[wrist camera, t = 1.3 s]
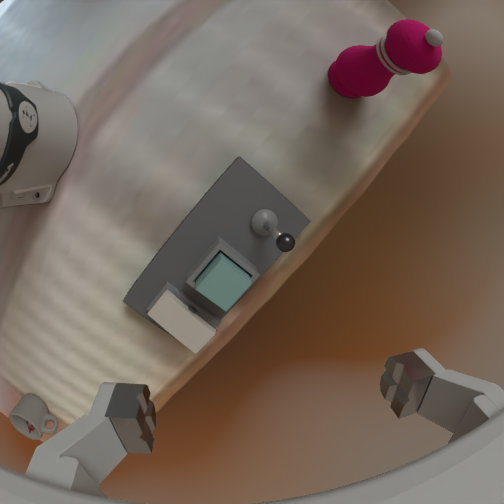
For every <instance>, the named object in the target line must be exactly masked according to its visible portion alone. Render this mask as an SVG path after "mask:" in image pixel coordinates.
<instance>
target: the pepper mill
mask: <svg viewBox="0 0 504 504" xmlns="http://www.w3.org/2000/svg"><path fill="white" fill-rule="evenodd" d="M442 43H443V37H442V35H441V33H440V32H438V31H437V30H434V29H429V28H428V27H427V26H426V25H424V24H423V23H420V22H418V21H415V20H408V19H406V20H401V21H398V22H396V23H394V24H393V25H392V26H391V27H390V28H389V29H388V31H387V33H386V34H385V35H384V36H381V37H380V38H379V39H378V41H377V44H376V45H374V46H363V45H359V46H352V47H349V48H347V49H345V50H344V51H343V52H341V53H340V55H339V56H338V58H337V60H336V61H335V62H333V63H332V64H331V66H330V68H329V73H328V75H329V80H330V83H331V85H332V87H333V88H334V89H335V90H336V91H337V92H338V93H339V94H341V95H342V96H344V97H347V98H357V97H360V96H364V97H368V96H373V95H375V94H377V93H379V92H381V91H382V90H383V89H384V88H385V87H386V86H387V85H388V83H389V81H390V79H391V78H392V76H393V75H395V74H397V75H407V74H409V73H417V74H424V73H427V72H430V71H432V70H434V69H435V68H436V67H437V66H438V65H439V63H440V61H441V56H442V51H441V44H442Z"/></svg>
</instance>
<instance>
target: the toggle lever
mask: <svg viewBox="0 0 504 504" xmlns="http://www.w3.org/2000/svg"><path fill="white" fill-rule="evenodd" d="M263 227H264V228H265V229H266V230H267V231H268V232H269V233H270V234H271V235H272V236H273V237H274V238H275V239H276V245H277V248H278V249H279V250H281V251H283V252H288V251H290V250H292V249H293V247H294V245H295V240H294V238H293V236H292V235H291V234H288V233H282V232H281V231H279V230H278V229H277V228H276V227H275V226H274V225H273V224H272V223H271V222H269V221H265V222H264V223H263Z"/></svg>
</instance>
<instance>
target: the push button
mask: <svg viewBox="0 0 504 504" xmlns="http://www.w3.org/2000/svg"><path fill="white" fill-rule="evenodd" d="M251 284H252V282H251V279H250V277H249V274H248V273H247V272H245V271H244V270H243V269H242V268H240V267H239V266H238V265H236V264H235V263H234V262H233V261H231V260H230V259H229V258H228V257H226V256H225V255H224V254H223V253H221V252H219V253H218V255H217V256H216V257H215V258H214V259H213V260H212V261H211V263H210V264H209V265H208V266H207V267H206V268H205V270H204V271H203V272H202V273H201V274H200V275H199V277H198V278H197V279H196V290H197V291H199V292H200V293H201V294H203V295H204V296H205V297H207V298H208V299H210V300H211V301H212V302H214V303H215V304H216V305H218V306H219V307H221V308H222V309H223V310H225V311H227V310H228V309H229V308H230V307H231V306H232V305H233V304H234V303H235V302H236V301H237V300H238V298H239V297H240V296H241V295H242V294H243V293H244V292H245V291H246V290H247V289H248V288H249V286H250V285H251Z"/></svg>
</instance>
